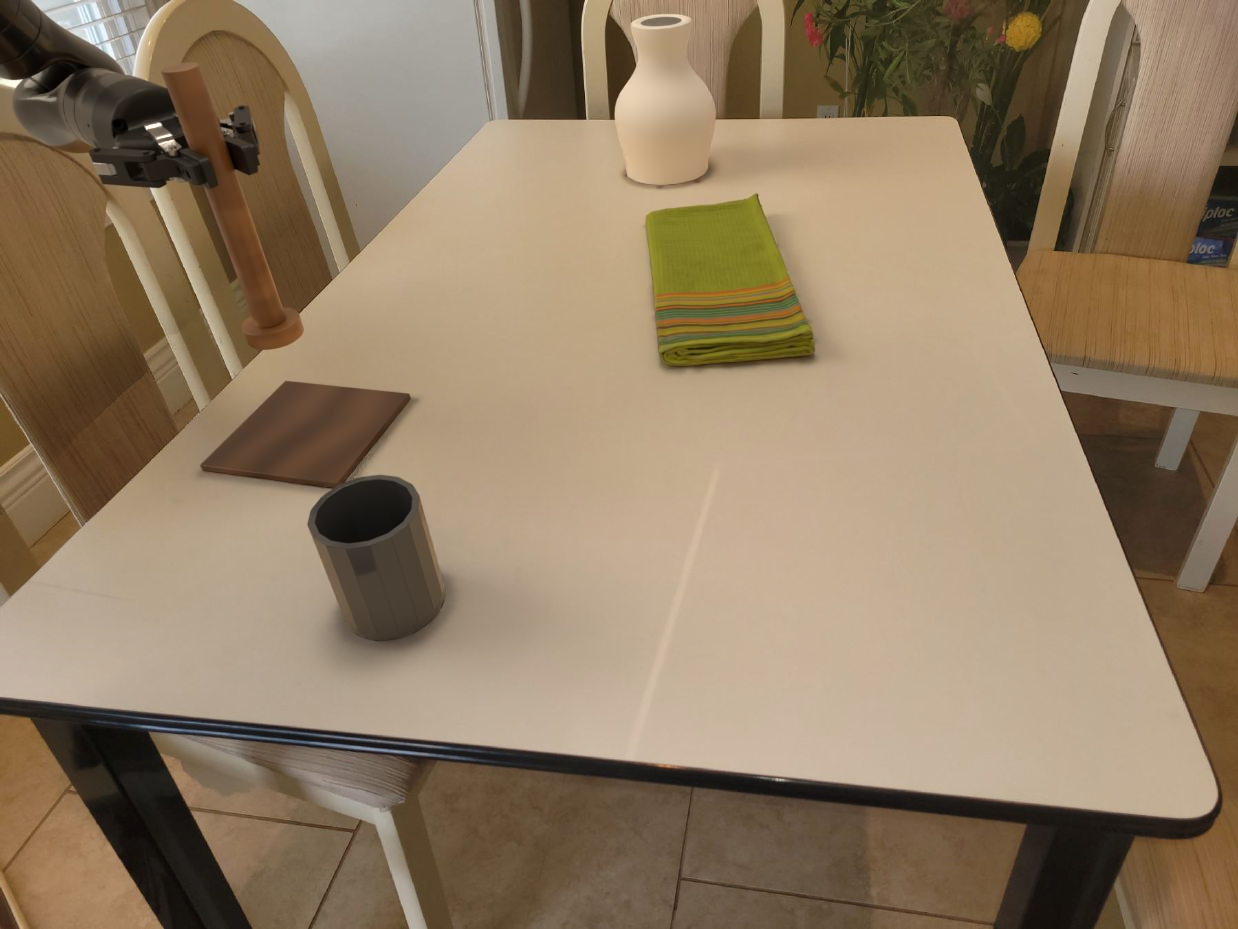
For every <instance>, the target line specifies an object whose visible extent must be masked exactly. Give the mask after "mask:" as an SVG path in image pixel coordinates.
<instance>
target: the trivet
mask: <svg viewBox="0 0 1238 929" xmlns="http://www.w3.org/2000/svg"><path fill="white" fill-rule="evenodd" d="M410 400H411V395H410V393H408V392H399V391H387V390H380V389H379V390H378V389H369V388H359V387H349V386H340V385H332V384H331V385H329V384H321V383H311V382H302V381H301V382H300V381H293V380H292V381H290V380H285V381H283V383H282V384H280V385H279V386H278V387H277V388H276V389H275V391H273V392H272V393H271V394H270V396H268V397H267V398H266V399H265V400H264V401H263V402H262V403H261V404H260V405H259V406H258V407H257V408H256V409H255V410H254V411H253V412H252V413H251V414H250V415H249V416H248V417H247V418H246V419H245V420H244V421H243V422H242V423H241V424H240V425H239V426H238V427H237V428H236V429H234V431H233V432H232V433H231V434H230V435H229V436H228V437H226V438H225V440H223V442H221V444H220V445H219V446H218V447H216V448H215V449H214V450H213V452H212V453H210V454H209V455H208V457H207V458H205V460H203V461H202V462H201V463H200V464H199V467H200V469H201V471H205V472H214V473H221V474H228V475H236V476H241V477H250V478H257V479H265V480H271V481H272V480H273V481H279V482H280V481H281V482H285V483H286V482H287V483H293V484H302V485H307V486H309V485H310V486H316V487H324V488H331V489H333V488H335V487H336V486H338V485H340V484H342V483H345V481H346V480H347V479H348V478H349V476H350V475H351V474H352V473H353V471H354V470H355V469H356V468H357V467H358V465H359V464H360V462H361V461H362V460H363V459H364V458H365V456H366V455H367V453H368V452H369V451H370V450H372V449H371V448H372V447H373V446H374V445H375V443H377V441H378V440H379V439H380V437H381V436H382V435H383V433H384V432H385V431H386V430H387V428H389V426H390V425H391V424H392V422H394V420H395V418H397V416H398V415H399V413H400V412H401V411H402V410H403V408H404V407H405V406H406V405H407V404H408V402H409V401H410Z"/></svg>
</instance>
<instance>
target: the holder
mask: <svg viewBox="0 0 1238 929" xmlns="http://www.w3.org/2000/svg"><path fill="white" fill-rule="evenodd" d="M306 524H307V528H308V531H309V534H310V536H311V538H312V541H313V544H314V546H315V549H316V551H317V554H318V556H319V559H320V561H321V564H322V566H323V569H324V572H325V575H326V576H327V579H328V582H329V584H330V587H331V590H332V592H333V594H334V597H335V599H336V603H337V605H338V607H339V610H340V613H341V615H342V617H343V620H344V622H345V625H346V626H347V627H348V628H349V630H350V631H352V632H353V633H354V634H356V635H357V636H359V637H362V638H364V639H368V640H374V641H387V640H388V641H389V640H396V639H399V638H402V637H406V636H407V635H411V634H413V633H415V632H417V631H419V630H421V629H422V628H423V627H425V626H426V625H427V624H428V623H430V622H431V620H433V619H434V618H435V617H436V615H437V614H438V613H439V611H440V610H441V608H442V606H443V603H444V600H445V595H446V592H445V591H446V590H445V586H444V578H443V574H442V571H441V568H440V565H439V561H438V556H437V553H436V550H435V546H434V542H433V538H432V535H431V531H430V528H429V524H428V521H427V517H426V514H425V510H424V506H423V503H422V500H421V495H420V494H419V493H418V491H417V489H416V488H415V486H414V484H413V483H411V482H409V481H407V480H405V479H403V478H401V477H400V476H393V475H387V474H375V475H367V476H359V477H356V478H353V479H351V480H348V481H346V482H345V481H344V482H343V483H342V484H340V485H338V486H336V487H335V488H331V489H330V490H329V491H327V492H325V493H324V494H323V495H322V496H321V497H319V499H318V500H317V501H316V503H315V504H314V505H313V506H312V508H310V511H309V516H308V520H307V523H306Z"/></svg>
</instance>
